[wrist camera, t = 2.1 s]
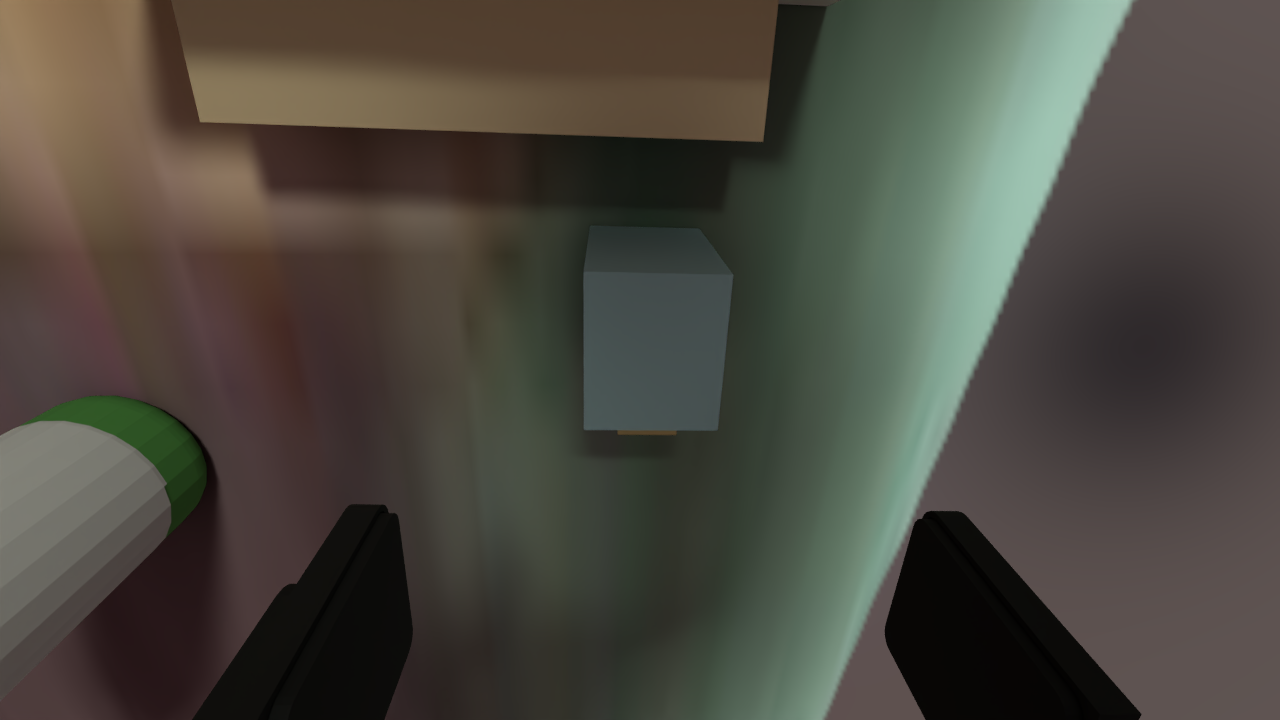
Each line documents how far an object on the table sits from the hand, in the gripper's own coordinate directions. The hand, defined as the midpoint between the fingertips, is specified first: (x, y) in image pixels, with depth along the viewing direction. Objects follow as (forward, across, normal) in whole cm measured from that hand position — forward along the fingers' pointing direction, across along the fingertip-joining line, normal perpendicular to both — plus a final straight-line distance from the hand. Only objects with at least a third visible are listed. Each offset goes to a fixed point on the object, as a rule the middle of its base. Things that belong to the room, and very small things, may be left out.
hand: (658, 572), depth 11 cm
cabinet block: (+19, -1, 0) cm, 19 cm away
